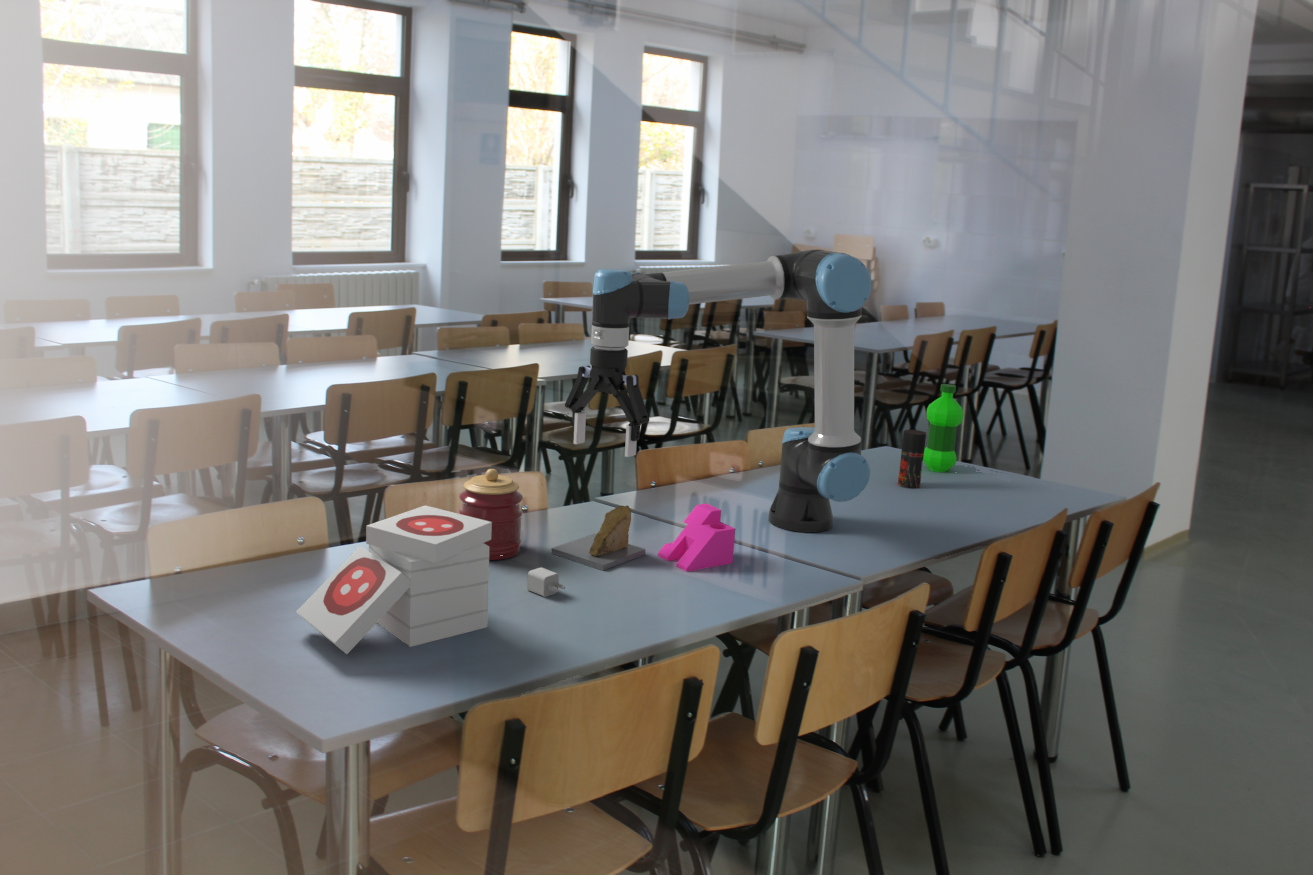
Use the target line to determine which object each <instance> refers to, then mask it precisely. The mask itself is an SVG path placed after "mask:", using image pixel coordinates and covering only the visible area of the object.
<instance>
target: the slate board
mask: <svg viewBox="0 0 1313 875" xmlns="http://www.w3.org/2000/svg"><path fill="white" fill-rule="evenodd" d="M596 534H597V533H592V534H589V535H585V536H583V537H581V538H580V537H579V538H577V539H574V540H571V541H568V542H565V543H562V544H559V545H557V546H554V547H551V550H550V551H551V552H550V554H553V555H555V556H558V557H561V558H563V559H567V560H569V561H572V562H576V563H578V564H582V565H585V566H588V567H591V568H594V569H597V570H599V571H605V570H608V569H611V568H613V567H616V566H619V565H621V564H624V563H626V562H629V561H632V560H634V559H637V558H640V557H643V556H644V555H646V548H643V547H639V546H637V545H634V544H631V543H628V547H626V548H624V549H621V550H618V551H615V552H611V553H608V554H604V555H601V556H594V555H592V554H590V553H589V551H590V548H591V546H592V544H593V542H594V538H595V536H596Z"/></svg>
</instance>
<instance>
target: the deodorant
mask: <svg viewBox="0 0 1313 875" xmlns="http://www.w3.org/2000/svg"><path fill="white" fill-rule="evenodd" d="M926 439H927V432H925V431H922V430H917V429H905V430H903V434H902V446H901V452H900V463H899V471H898V478H897V479H898V480H897V485H898V486H899V487H901V488H906V489H912V490H913V489H919V488H920V487H921V481H922V480H921V479H922V471H923V463H924V460H923V457H924V449H925V448H926V447H925V446H926Z"/></svg>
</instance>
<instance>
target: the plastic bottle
mask: <svg viewBox="0 0 1313 875" xmlns="http://www.w3.org/2000/svg"><path fill="white" fill-rule="evenodd" d="M939 391H940V392H941V395H940V396H939V397H938V398H937V399H935V400H934V401H932V402H931V403H930V404H928V406H927V408H926V418H927V420H928V422H929V426H928V427H929V428H928V436H927V442H926V444H927V445H925V446H926V447H925V448H924V457H923V463H924V465H925V466H926V467H927V469H928V470H930V471H932V472H936V473H937V472H938V473H945V472H947V471H949V470H951V469H952V468H953V467H954V466H955V465H956V464H957V454H956V453H957V452H955V449H956V447H955V446H956V441H957V440H956V439H957V432H958V431H957V430H958V426H960V425H961V424H962V423H963V420H964V415H965V414H964V410H963V407H962V406H961V405H960V403H958V401H957V400H956V399H955V398H954V394H955V393H956V392H957V385H954V384H951V383H950V384H948V383H947V384H946V383H941V384H940V390H939Z"/></svg>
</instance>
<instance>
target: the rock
mask: <svg viewBox="0 0 1313 875" xmlns="http://www.w3.org/2000/svg"><path fill="white" fill-rule="evenodd" d="M631 522H632V509H631V508H630V506H629V505H625V506H624V505H620V506H617V507H615V508H614V509H611V510H610V511H608V512H606V513H605V515H604V520H603V522H602V523H601V526H600V528H599V529H600V530H598V531H597V533H595V534H596V536H595V538H594V542H593V544H592V546H591V548H590V551H589V553H590V554H592V555H594V556H601V555H604V554H608V553H611V552H615V551H618V550H621V549H624V548H626V547H628V544H629V533H630V532H629V531H630V528H631Z"/></svg>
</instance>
